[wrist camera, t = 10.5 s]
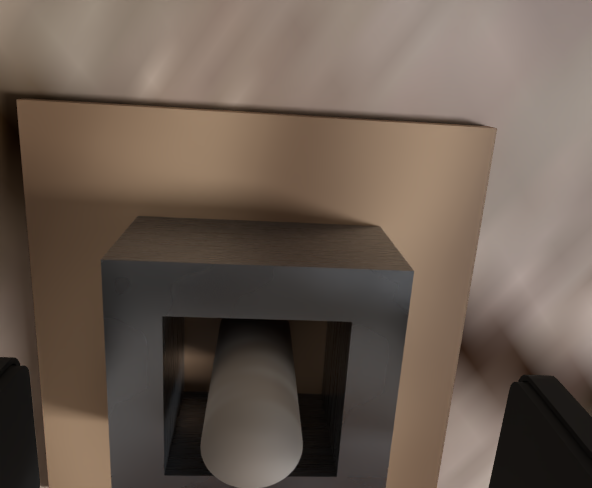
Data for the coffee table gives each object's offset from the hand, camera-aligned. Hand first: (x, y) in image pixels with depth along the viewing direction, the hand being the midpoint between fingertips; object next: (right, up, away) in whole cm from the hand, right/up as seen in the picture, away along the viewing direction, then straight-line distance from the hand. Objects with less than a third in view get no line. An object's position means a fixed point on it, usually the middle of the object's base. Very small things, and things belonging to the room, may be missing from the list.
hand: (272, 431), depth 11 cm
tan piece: (-1, +1, +5) cm, 6 cm away
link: (-1, +1, +5) cm, 5 cm away
